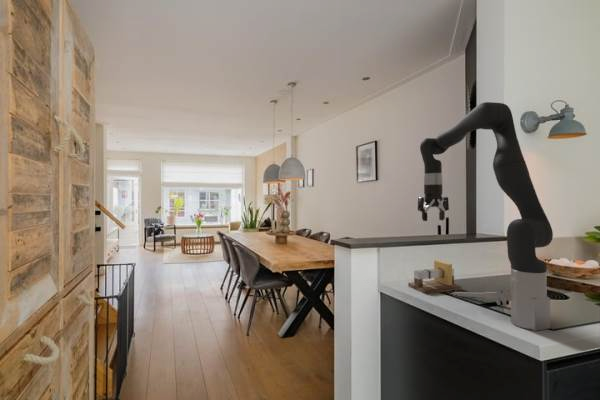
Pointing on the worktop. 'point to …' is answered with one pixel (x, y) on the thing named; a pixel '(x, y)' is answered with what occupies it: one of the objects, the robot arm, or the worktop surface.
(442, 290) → the pipe board
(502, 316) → the worktop surface
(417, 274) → the pipe
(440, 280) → the tan flat square slab
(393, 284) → the worktop surface
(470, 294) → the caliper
